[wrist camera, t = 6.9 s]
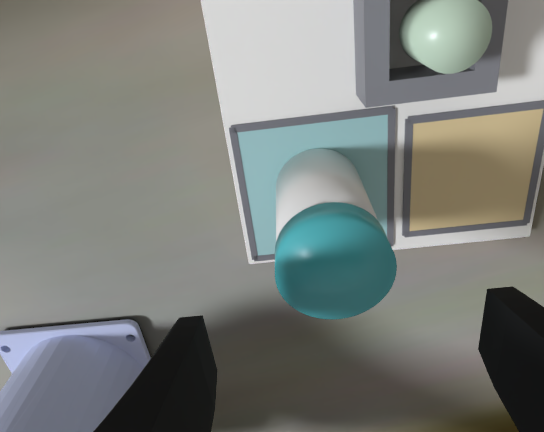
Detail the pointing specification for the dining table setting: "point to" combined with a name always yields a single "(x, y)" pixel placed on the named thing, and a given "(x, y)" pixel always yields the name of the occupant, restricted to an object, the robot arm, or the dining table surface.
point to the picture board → (382, 115)
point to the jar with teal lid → (329, 238)
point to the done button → (446, 33)
